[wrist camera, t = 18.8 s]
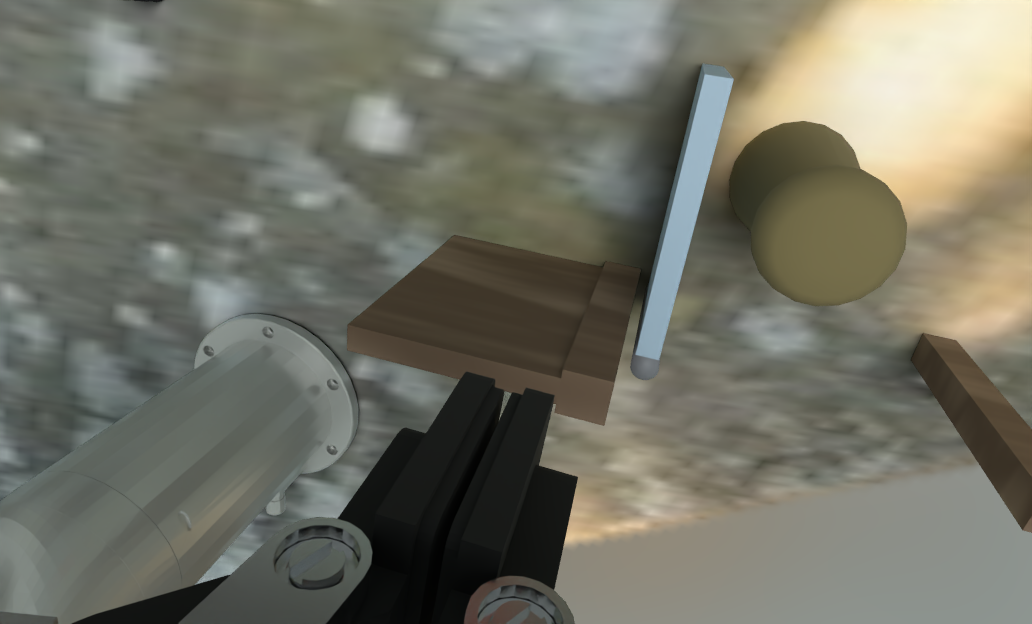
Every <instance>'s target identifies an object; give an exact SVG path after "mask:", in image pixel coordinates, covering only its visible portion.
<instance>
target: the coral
mask: <svg viewBox="0 0 1032 624" xmlns="http://www.w3.org/2000/svg"><path fill="white" fill-rule="evenodd" d="M134 1H153V2H160V1H162V0H134Z"/></svg>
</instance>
